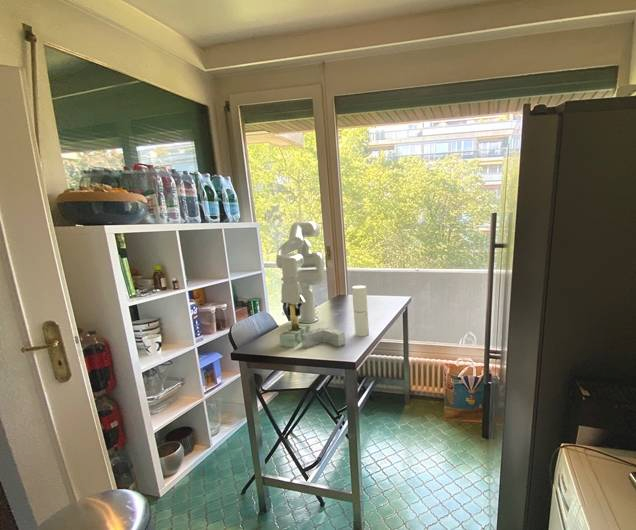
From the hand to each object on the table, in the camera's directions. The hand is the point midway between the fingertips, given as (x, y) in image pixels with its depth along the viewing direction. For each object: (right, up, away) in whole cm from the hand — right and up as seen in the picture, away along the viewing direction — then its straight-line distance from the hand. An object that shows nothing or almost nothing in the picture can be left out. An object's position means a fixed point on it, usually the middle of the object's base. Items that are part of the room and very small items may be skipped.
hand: (294, 314), depth 170 cm
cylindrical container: (+35, -11, +3) cm, 37 cm away
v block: (+15, -13, -6) cm, 21 cm away
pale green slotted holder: (+1, -14, +1) cm, 14 cm away
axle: (+1, -7, +1) cm, 7 cm away
